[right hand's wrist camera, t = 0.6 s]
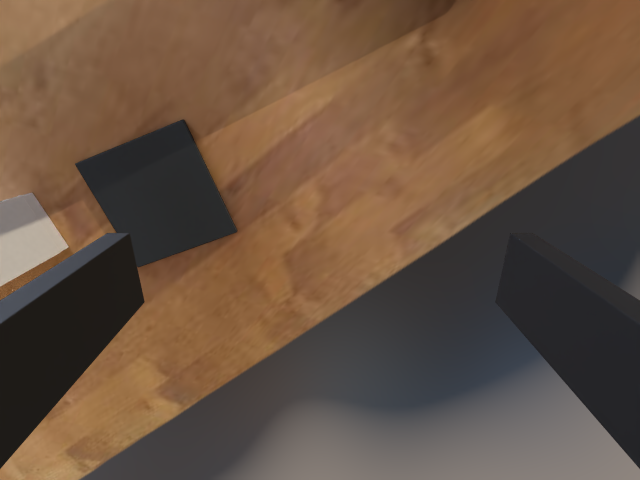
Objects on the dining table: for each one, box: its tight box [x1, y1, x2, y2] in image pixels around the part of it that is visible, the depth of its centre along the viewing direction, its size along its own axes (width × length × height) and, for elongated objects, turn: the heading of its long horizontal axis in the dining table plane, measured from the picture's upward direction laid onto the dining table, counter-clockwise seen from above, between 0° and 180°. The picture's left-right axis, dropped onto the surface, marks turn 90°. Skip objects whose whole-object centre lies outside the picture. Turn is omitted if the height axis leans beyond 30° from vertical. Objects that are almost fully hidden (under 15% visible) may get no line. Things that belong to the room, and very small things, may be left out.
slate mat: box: [75, 120, 237, 267], centre depth 39 cm, size 13×13×1 cm
